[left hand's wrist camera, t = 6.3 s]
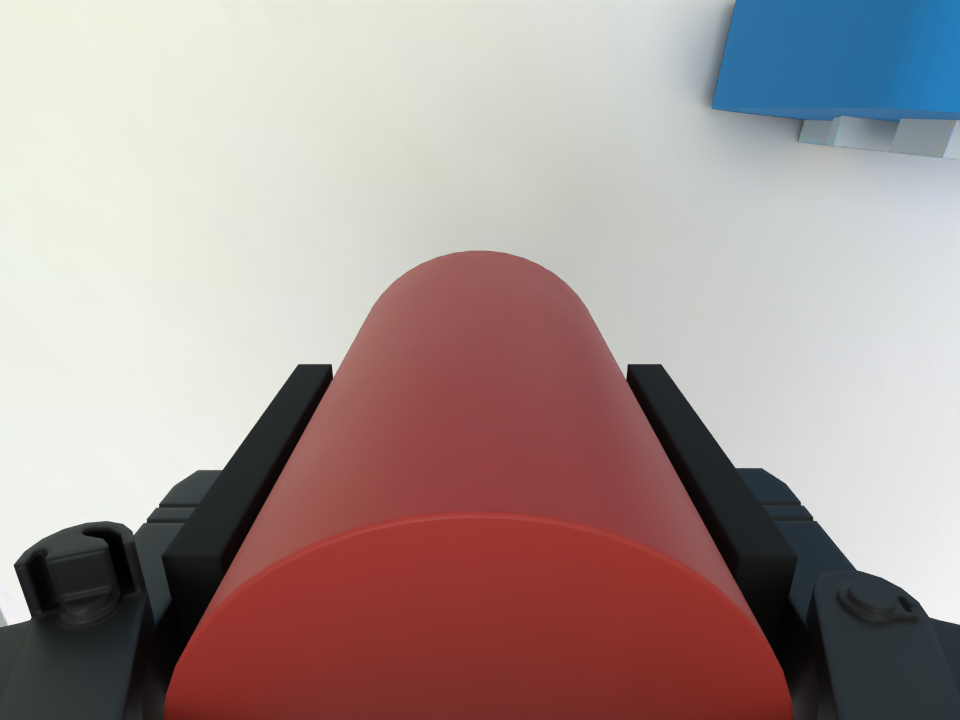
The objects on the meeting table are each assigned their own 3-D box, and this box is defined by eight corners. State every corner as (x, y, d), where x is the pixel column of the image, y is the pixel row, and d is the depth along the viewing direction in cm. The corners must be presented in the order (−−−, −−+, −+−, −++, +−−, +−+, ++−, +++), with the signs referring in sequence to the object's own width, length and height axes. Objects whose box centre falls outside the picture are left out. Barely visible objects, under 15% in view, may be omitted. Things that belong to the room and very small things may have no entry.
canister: (355, 240, 16) (116, 489, 5) (620, 260, 16) (883, 538, 5) (355, 470, 18) (193, 942, 8) (584, 485, 18) (718, 964, 8)
